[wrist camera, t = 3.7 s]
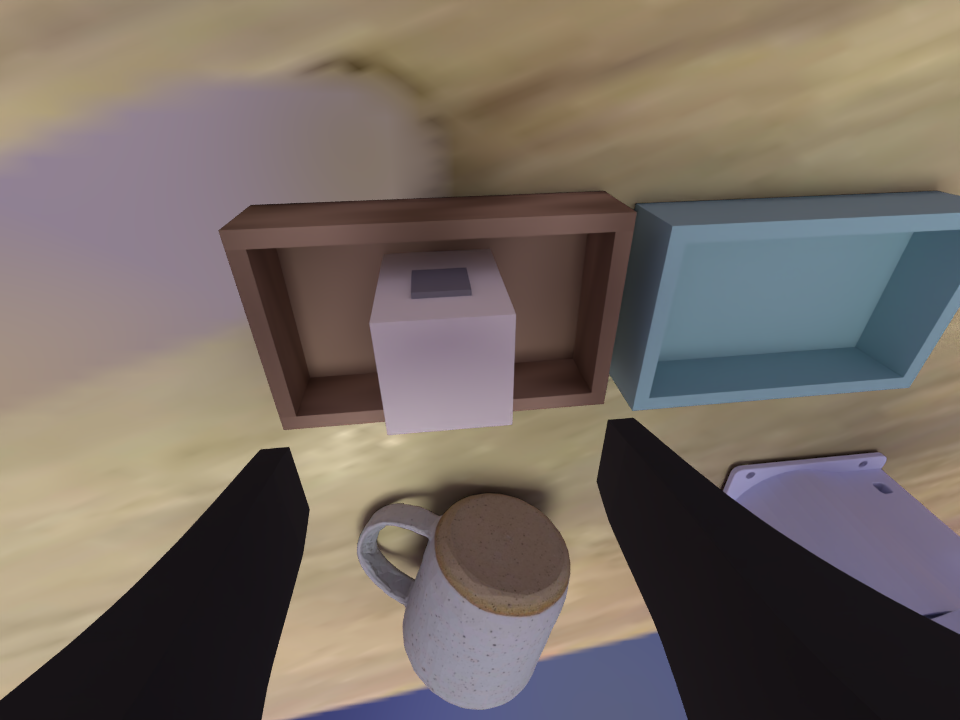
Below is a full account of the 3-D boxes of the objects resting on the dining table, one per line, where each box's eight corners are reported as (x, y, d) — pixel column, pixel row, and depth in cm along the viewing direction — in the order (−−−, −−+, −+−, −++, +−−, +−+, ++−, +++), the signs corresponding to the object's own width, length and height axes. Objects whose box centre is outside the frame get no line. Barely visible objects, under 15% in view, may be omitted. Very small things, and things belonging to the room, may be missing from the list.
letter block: (490, 243, 17) (516, 307, 12) (490, 340, 19) (512, 424, 15) (382, 248, 17) (368, 316, 12) (395, 346, 19) (387, 435, 14)
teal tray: (937, 190, 18) (1019, 210, 16) (854, 352, 22) (909, 387, 20) (635, 203, 17) (672, 226, 15) (607, 370, 21) (632, 410, 19)
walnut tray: (604, 191, 17) (636, 212, 14) (581, 363, 21) (603, 403, 18) (250, 205, 16) (218, 230, 13) (300, 384, 20) (283, 429, 17)
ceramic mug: (559, 486, 25) (604, 627, 19) (521, 573, 30) (547, 712, 23) (367, 470, 23) (344, 621, 17) (355, 566, 28) (332, 716, 21)
